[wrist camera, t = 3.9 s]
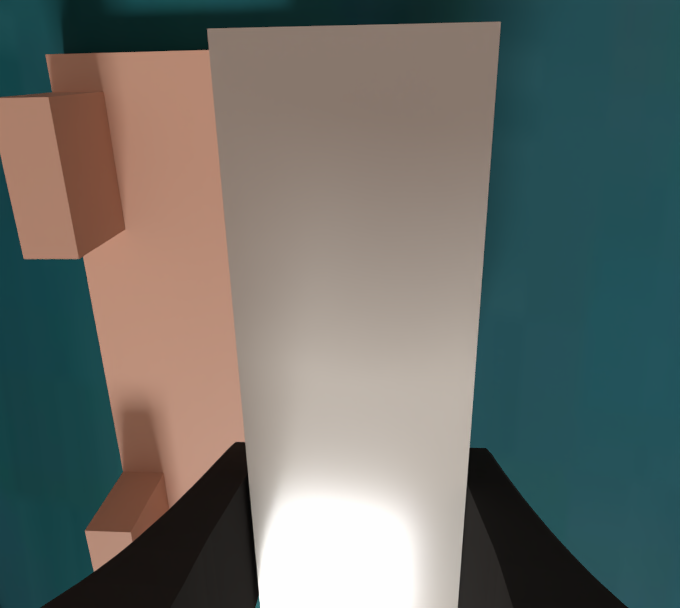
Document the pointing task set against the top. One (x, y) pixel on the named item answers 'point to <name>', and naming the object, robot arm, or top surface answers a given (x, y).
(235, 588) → the robot arm
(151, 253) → the rack
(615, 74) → the top surface
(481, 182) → the strip
